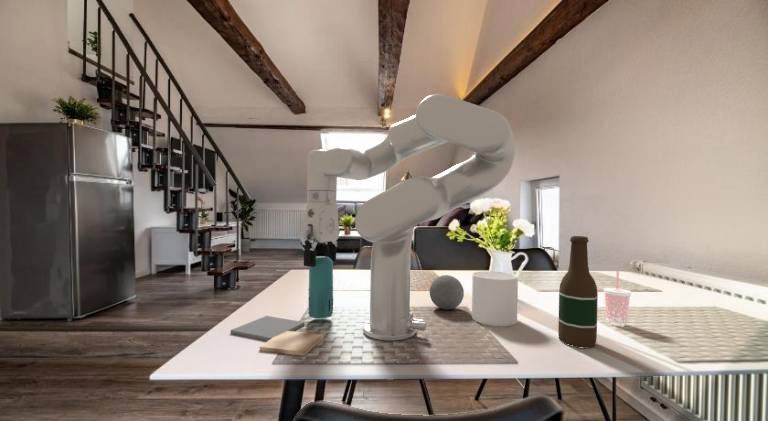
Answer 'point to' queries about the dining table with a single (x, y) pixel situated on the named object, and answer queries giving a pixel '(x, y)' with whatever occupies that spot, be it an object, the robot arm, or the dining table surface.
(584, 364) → the dining table surface
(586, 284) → the beer bottle
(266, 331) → the slate coaster
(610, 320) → the beverage cup
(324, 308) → the beverage bottle
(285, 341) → the light wooden coaster
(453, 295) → the decorative ball
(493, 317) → the cup
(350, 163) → the robot arm
